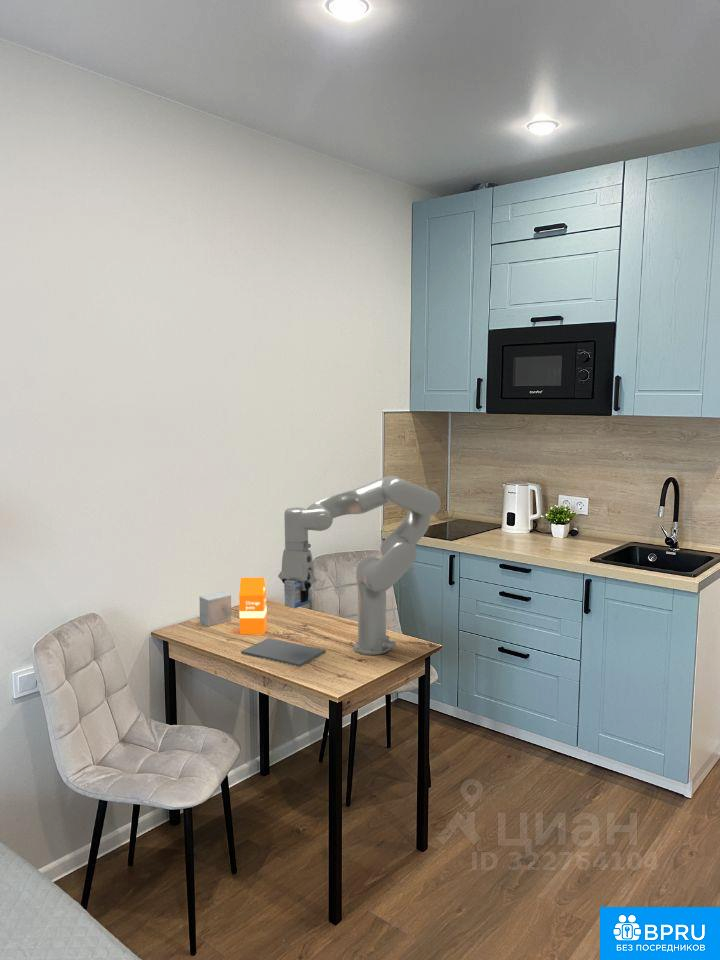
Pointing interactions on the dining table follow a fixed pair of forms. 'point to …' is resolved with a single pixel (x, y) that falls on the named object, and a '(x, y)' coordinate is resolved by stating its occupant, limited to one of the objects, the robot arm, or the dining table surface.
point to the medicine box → (294, 593)
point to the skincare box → (215, 608)
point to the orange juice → (252, 606)
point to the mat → (283, 651)
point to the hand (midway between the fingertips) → (297, 599)
